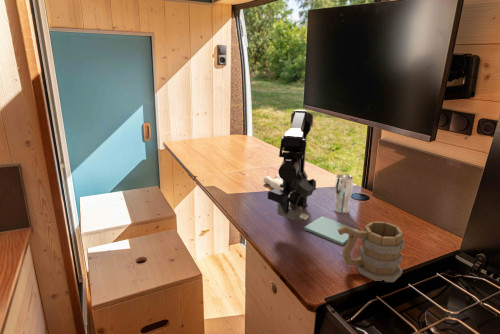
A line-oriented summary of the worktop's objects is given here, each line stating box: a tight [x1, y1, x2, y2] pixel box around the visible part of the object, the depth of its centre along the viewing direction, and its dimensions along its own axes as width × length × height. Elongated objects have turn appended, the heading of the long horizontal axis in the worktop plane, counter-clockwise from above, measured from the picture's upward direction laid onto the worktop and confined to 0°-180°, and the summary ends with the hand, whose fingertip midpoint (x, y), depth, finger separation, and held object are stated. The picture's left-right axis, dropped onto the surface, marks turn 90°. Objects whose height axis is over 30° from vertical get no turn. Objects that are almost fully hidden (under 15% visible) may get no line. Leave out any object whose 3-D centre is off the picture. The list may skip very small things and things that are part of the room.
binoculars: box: [263, 173, 283, 190], centre depth 168 cm, size 10×16×5 cm, turn 30°
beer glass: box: [333, 173, 354, 214], centre depth 143 cm, size 7×7×15 cm
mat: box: [303, 215, 360, 246], centre depth 129 cm, size 16×12×1 cm
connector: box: [276, 202, 310, 222], centre depth 123 cm, size 12×4×4 cm, turn 47°
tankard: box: [338, 221, 406, 283], centre depth 105 cm, size 20×13×15 cm, turn 88°
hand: (289, 211), depth 124 cm, fingers closed on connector, 4 cm apart
